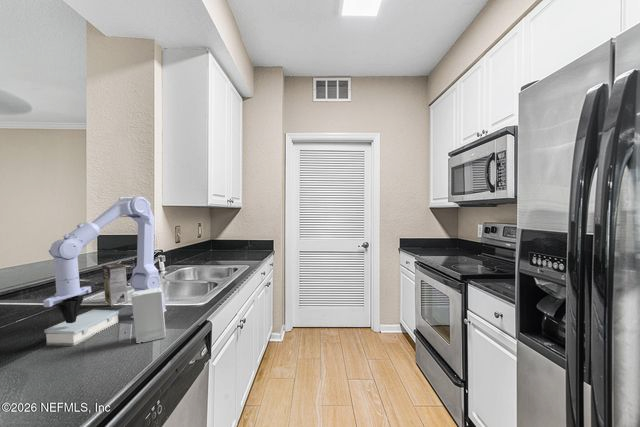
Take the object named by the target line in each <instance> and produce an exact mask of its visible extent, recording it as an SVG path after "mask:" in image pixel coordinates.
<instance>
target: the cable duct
mask: <svg viewBox="0 0 640 427" xmlns="http://www.w3.org/2000/svg"><path fill="white" fill-rule="evenodd" d="M116 323H117V324H118V323H119V313H118V314H116V315H114V316H111V317H109V318H107V319H105V320H103V321H101V322H99V323H97V324H95V325H93V326H91V327H89V328H86V329H84V330H82V331H80V332H78V333H76V334H59V333H45V335H46V346H65V347H66V346H67V347H68V346H69V347H70V346H71V347H74V346H77V345H78V344H80V343H82V342H84V341H86V340H88V339H91V337H93V335H94V336H95V334H96V333H98V332H99V333H101V332H103V331H105V330H107V329H109V328H111V327H113V326H115V325H116ZM114 324H115V325H114ZM112 325H113V326H112ZM110 326H111V327H110ZM108 327H109V328H108ZM106 328H107V329H106ZM104 329H105V330H104ZM102 330H103V331H102ZM100 331H101V332H100ZM99 333H98V334H99ZM96 335H97V334H96Z"/></svg>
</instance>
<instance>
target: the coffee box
mask: <svg viewBox="0 0 640 427" xmlns="http://www.w3.org/2000/svg"><path fill="white" fill-rule="evenodd" d="M102 272H103V274H102V276H103V286H104V290H103V291H104V300H105V301H106V302H107V303H109V304H110V305H111V307H113V306H112V305H114V304H118V303H122V302H129V301H128V284H127V268H126V265H124V264H122V263H112V264H110V263H109V264H105V265H104V264H103V265H102ZM106 302H105V303H106ZM107 303H106V304H107ZM109 304H108V305H109ZM110 305H109V306H110Z"/></svg>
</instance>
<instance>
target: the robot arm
mask: <svg viewBox="0 0 640 427" xmlns="http://www.w3.org/2000/svg"><path fill="white" fill-rule="evenodd" d="M151 206H152V203H151V202H150V201H148V199H146V198H145V197H143V196H137V197H122V198H120V199H119V200H118V201H115V202H114V203H113V204H112V205H111V206H110V207H109V208H108V209H106V210H105V211H104V212H103V213H101V214H100V215H99V216H98V217H97V218H95V219H94V220H92V222H83V223H78V224H77V225H76V228H75V229H74V230H72V231H71V232H69V233H68V234H64V235H62V237H63V239H62V238H61V239H57V240H56V241H54V242H52V244H51V246H50V247H49V248H50V249H49V250H48V254H49V255H50V257H52V258H53V264H54V268H53V269H54V278H55V289H56V290H55V291H56V292H55V293H54V295H53V296H50V297H48V298H46V299H44V300H42V301H43V303H42V304H43V307H44V308H51V307H53V306H54V305H55V307H56V308H57V309H58V310H59V311H60V313H61V314H62V316H63V318H64V321H66V323H74V322H76V318H77V316H78V313H79V311H80V307H81V305H82V303H83V301H84V297H83V296H82V295H85V294H90V293H92V286H87V285H86V286H82V287H81V285H80V272H79V270H80V268H79V260H78V259H79V258H78V257H79V255H81V252H82V249H83V248H85V247H86V246H87V245H88V244H90V243H91V242H92V241H94V240H95V239H96V238H97V237H99V235H100V230H101V229H103V228H104V227H106V226H108V225H109V224H110V223H112V222H113V221H115V220H116V219H118V218H119V217H122V216H125V217H126V216H127V217H129V218H131V219H132V220H133V221H135V222H136V223H137V243H136V244H137V249H136V250H137V252H136V266H135V267H134V268H133V270H132V274H131V277H130V280H129V284H130V286H131V288H132V289H133V290H134V291H140V290H147V289H152V288H158V287H161V286H160V285H161V277H160V275H159V270H158V268H157V267H156V265H155V264H154V263H155V262H154V260H155V259H154V257H155V256H154V255H155V215H154V213H153V212H152V209H151ZM134 291H133V292H134ZM162 298H163V310H164V313H165V312H167V310H168V309H166V296H165V293H164V291H162ZM130 318H131V319H134V317H133V315H131V316H130Z"/></svg>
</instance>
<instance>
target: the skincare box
mask: <svg viewBox="0 0 640 427" xmlns="http://www.w3.org/2000/svg"><path fill="white" fill-rule="evenodd" d="M162 290H163V289H162V287H161V286H159V287H158V288H152V289H147V290H140V291H132V294H131V297H130V298H131V307H132V313H133V314H132V316H133V317H134V318H133V323H134V333H135V334H134V335H135V341H136V343H139V344H142V343H141V342H143V343H146V342H151V341H156V340H160V339H165V338H166V337H167V336H166V334H167V333H166V332H167V331H166V323H165V312H164V310H163V298H162V292H163V291H162Z"/></svg>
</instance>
